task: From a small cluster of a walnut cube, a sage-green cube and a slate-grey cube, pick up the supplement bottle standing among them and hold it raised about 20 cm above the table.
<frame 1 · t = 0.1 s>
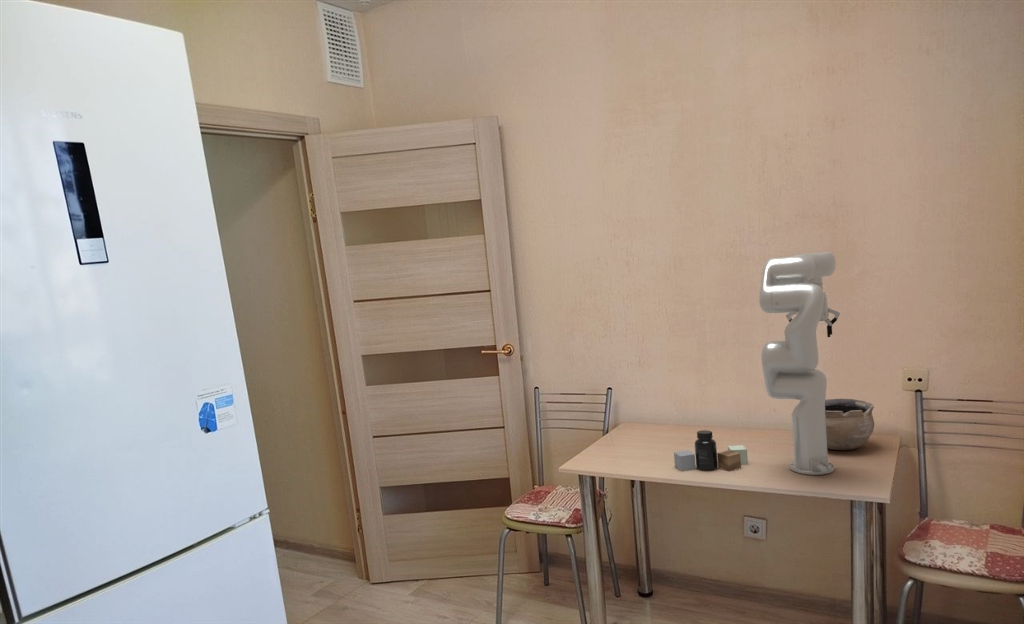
hand: (813, 337, 226), 37 cm above the table, tool pointing down, fingers open, 9 cm apart
ceramic bowl: (839, 447, 219), on the table
walnut cube: (729, 468, 208), on the table
slate cube: (685, 468, 212), on the table
supplement bottle: (707, 468, 210), on the table
sage cube: (738, 462, 213), on the table
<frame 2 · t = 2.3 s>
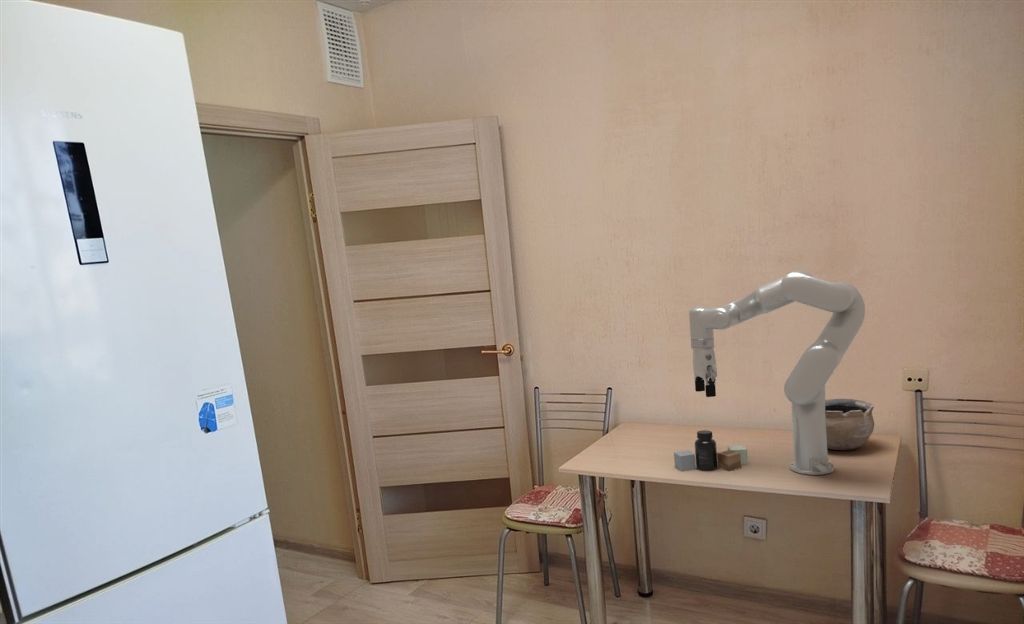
hand: (705, 393, 217), 23 cm above the table, tool pointing down, fingers open, 9 cm apart
nothing on the table moved.
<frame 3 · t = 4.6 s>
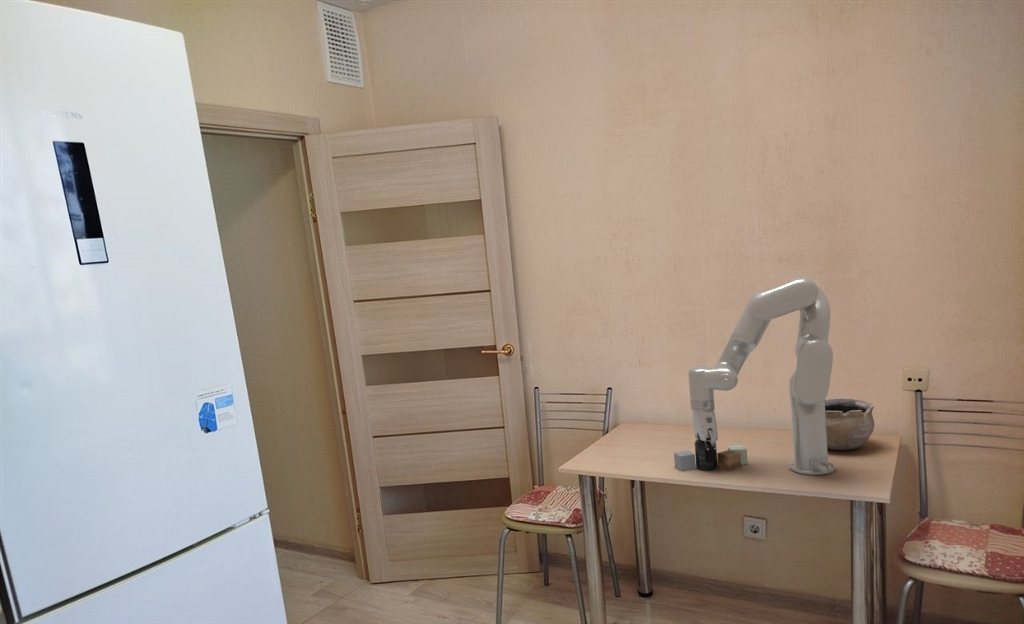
hand: (706, 458, 210), 3 cm above the table, tool pointing down, fingers closed on supplement bottle, 6 cm apart
supplement bottle: (707, 468, 210), on the table, touching gripper
everything else where it was.
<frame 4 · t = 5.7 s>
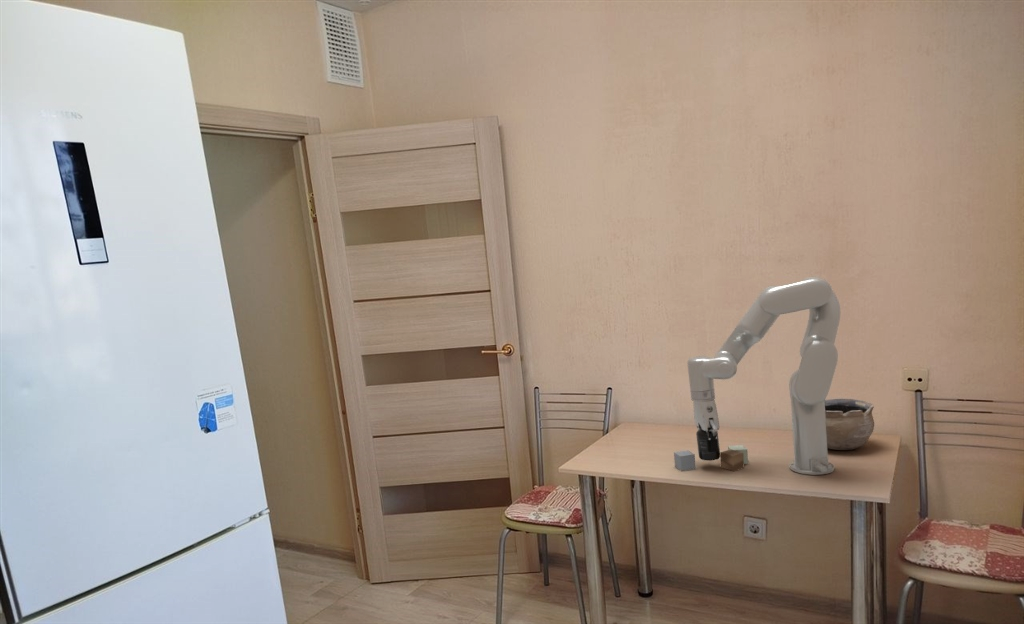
hand: (708, 447, 209), 7 cm above the table, tool pointing down, fingers closed on supplement bottle, 6 cm apart
supplement bottle: (709, 458, 209), point 3 cm above the table, touching gripper
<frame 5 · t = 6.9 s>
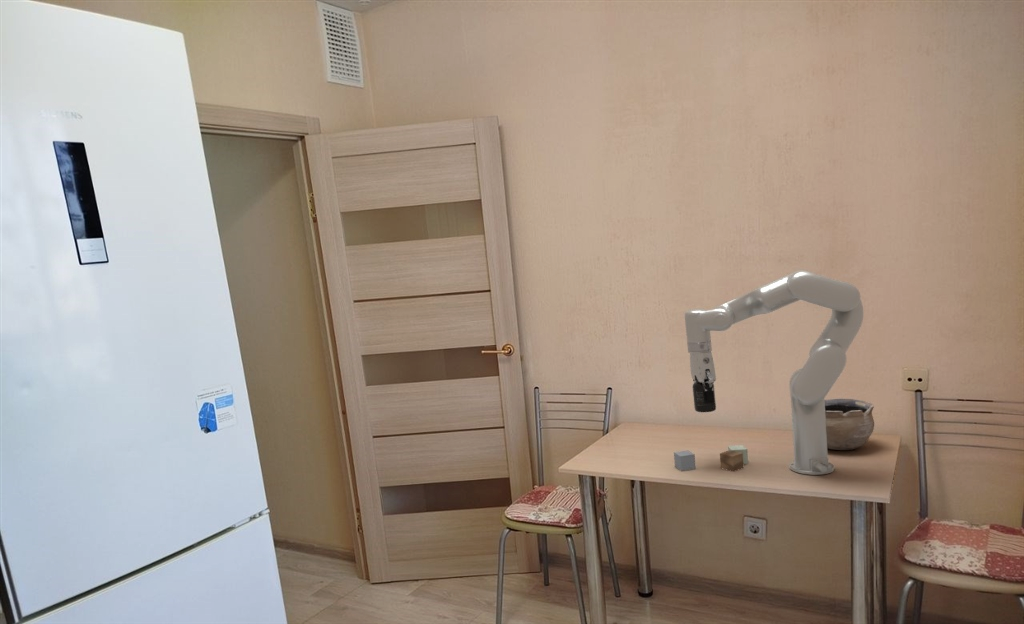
hand: (704, 400, 210), 22 cm above the table, tool pointing down, fingers closed on supplement bottle, 6 cm apart
supplement bottle: (705, 411, 210), point 18 cm above the table, touching gripper
everything else where it was.
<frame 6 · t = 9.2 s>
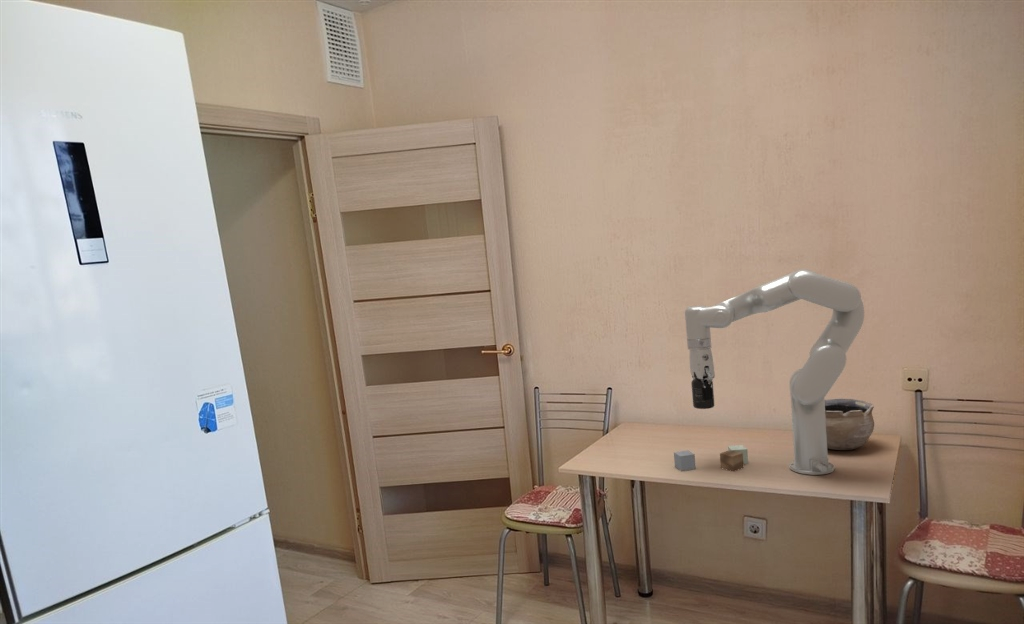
hand: (703, 397, 210), 23 cm above the table, tool pointing down, fingers closed on supplement bottle, 6 cm apart
supplement bottle: (703, 407, 211), point 20 cm above the table, touching gripper
everything else where it was.
at the end: the gripper is holding supplement bottle; supplement bottle point 19.5 cm above the table; walnut cube moved 0.8 cm from its start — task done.
